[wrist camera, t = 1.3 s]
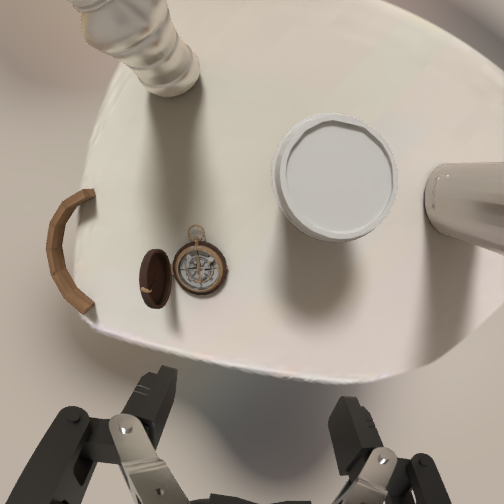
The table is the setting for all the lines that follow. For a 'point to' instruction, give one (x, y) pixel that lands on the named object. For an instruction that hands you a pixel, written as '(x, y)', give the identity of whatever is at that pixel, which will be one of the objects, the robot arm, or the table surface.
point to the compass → (182, 271)
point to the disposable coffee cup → (334, 177)
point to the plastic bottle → (141, 42)
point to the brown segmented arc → (57, 256)
